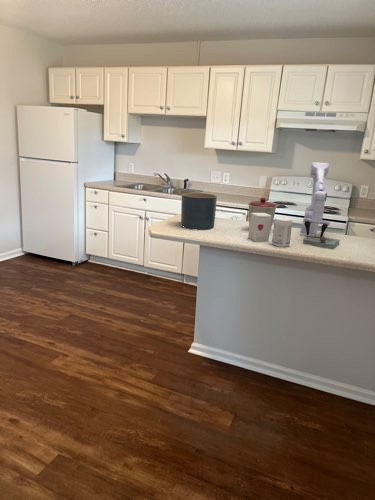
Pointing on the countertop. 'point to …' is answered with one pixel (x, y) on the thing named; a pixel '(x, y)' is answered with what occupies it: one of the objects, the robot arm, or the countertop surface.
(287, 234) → the supplement tub
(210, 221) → the planter
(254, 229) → the supplement box
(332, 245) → the grey board with rails
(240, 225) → the countertop surface
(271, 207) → the canister
